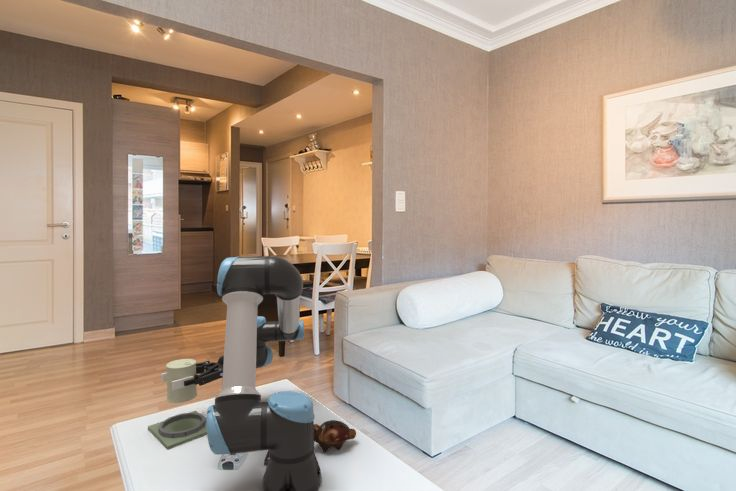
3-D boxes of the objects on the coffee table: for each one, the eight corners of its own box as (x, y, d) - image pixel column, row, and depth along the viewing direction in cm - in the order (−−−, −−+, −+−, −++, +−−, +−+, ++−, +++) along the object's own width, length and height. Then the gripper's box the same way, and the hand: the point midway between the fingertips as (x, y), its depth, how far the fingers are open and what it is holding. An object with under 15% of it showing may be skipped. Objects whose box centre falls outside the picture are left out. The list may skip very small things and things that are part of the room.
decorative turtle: (303, 445, 125) (304, 419, 125) (348, 437, 131) (349, 412, 131) (312, 459, 116) (313, 431, 116) (360, 450, 122) (361, 424, 123)
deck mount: (218, 430, 134) (217, 423, 134) (167, 449, 123) (167, 441, 122) (195, 413, 147) (195, 406, 146) (147, 429, 135) (147, 421, 135)
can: (185, 404, 129) (184, 367, 128) (160, 401, 131) (159, 365, 130) (202, 392, 138) (202, 358, 137) (179, 390, 140) (178, 356, 139)
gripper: (247, 382, 139) (180, 403, 123) (218, 367, 154) (155, 384, 138) (246, 361, 139) (179, 379, 123) (218, 348, 154) (155, 362, 138)
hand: (167, 381), depth 131 cm, fingers closed on can, 9 cm apart
